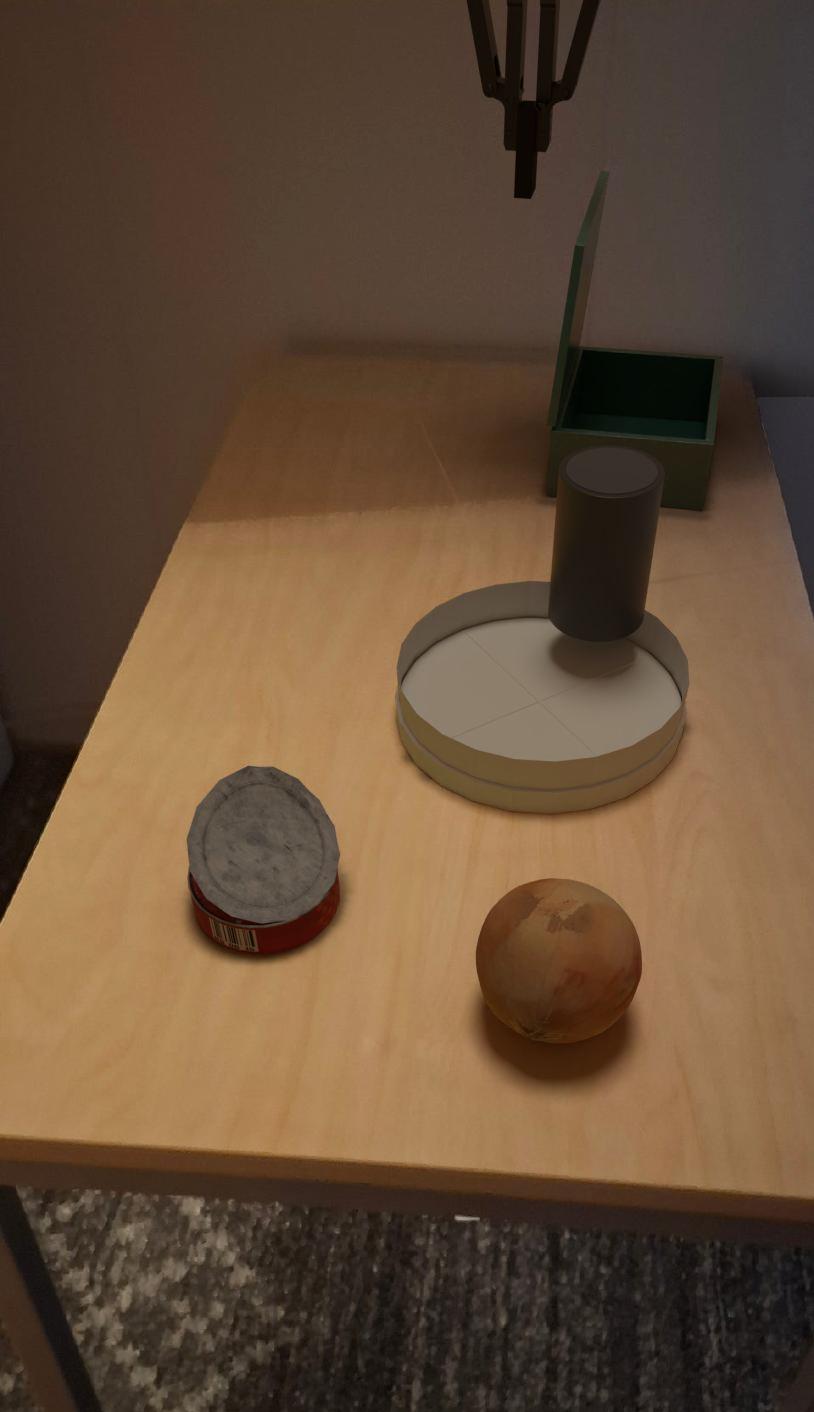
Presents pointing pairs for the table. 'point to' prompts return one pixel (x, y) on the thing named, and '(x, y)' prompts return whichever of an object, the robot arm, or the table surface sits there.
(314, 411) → the table surface
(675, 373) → the green box
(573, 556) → the gray cylinder
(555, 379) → the lid
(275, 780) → the canned food
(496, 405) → the table surface
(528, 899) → the onion
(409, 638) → the dish
